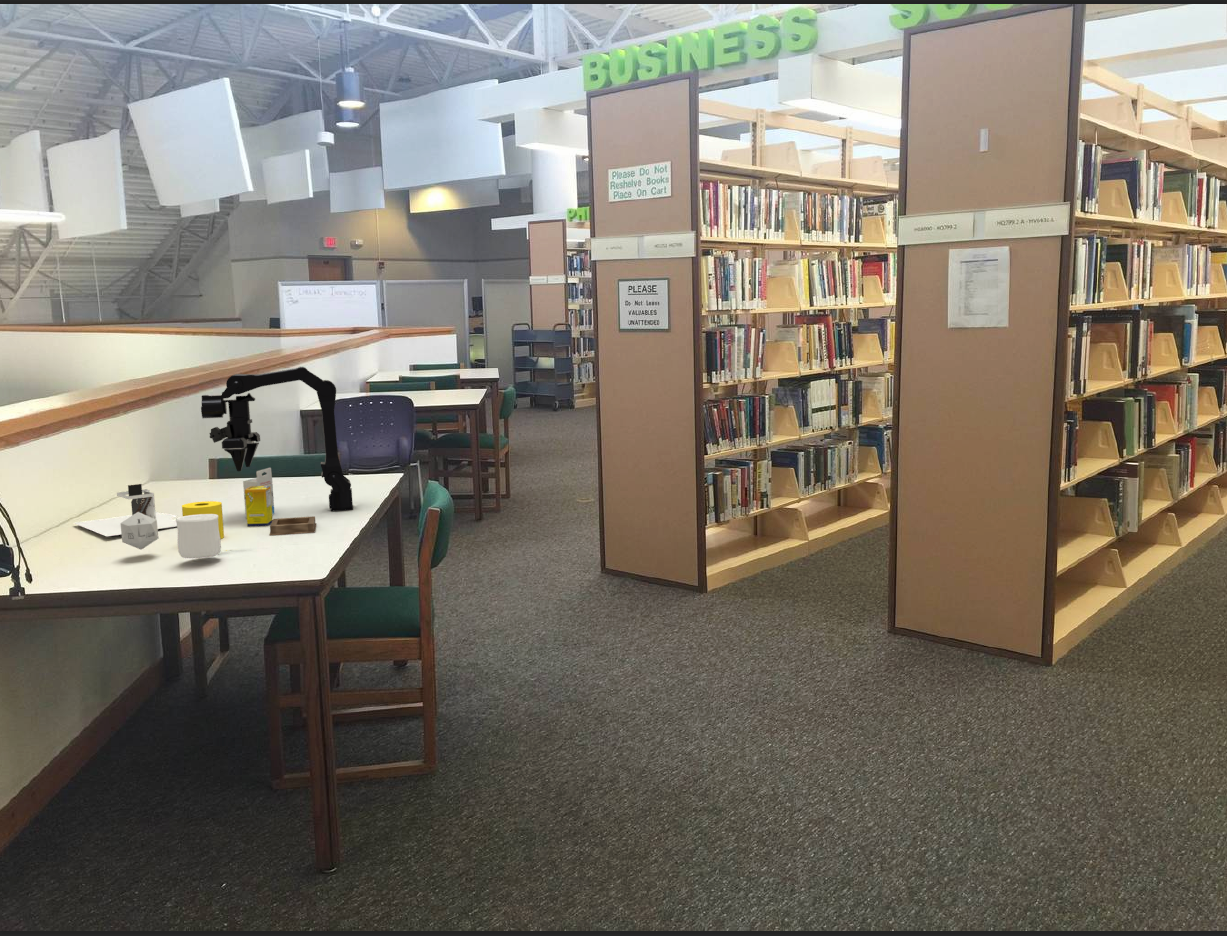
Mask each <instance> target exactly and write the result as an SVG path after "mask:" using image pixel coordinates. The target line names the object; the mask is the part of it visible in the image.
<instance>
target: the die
mask: <svg viewBox="0 0 1227 936" xmlns="http://www.w3.org/2000/svg"><path fill="white" fill-rule="evenodd" d="M131 515H132V514H131ZM120 535H121V542H122V543H124V544H125V545H129V546H130V547H133V548H136V549H138V550H144V548H146V547H148V546H149V545H151V544H152V543H154V542H155V541H157V540H158V539H160V538H159V529H158V528H157V520H156V519H154V518H151V517H149V516H147V515H144V514H142V513H140V512H137V513H136V514H134V515H132V516H131V517H129V518H128V519H126V520H125V521H123V522H122V523H121V534H120Z"/></svg>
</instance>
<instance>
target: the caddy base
mask: <svg viewBox="0 0 1227 936" xmlns="http://www.w3.org/2000/svg"><path fill="white" fill-rule="evenodd" d="M317 525H318V524H317V523H316V516H297V517H284V518H283V517H281V518H273V521H272V523H271V524H269V534H268V535H269V536H280V535H281V536H282V535H297V534H313V533H316V530H317V529H316V528H317Z"/></svg>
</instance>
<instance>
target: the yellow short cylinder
mask: <svg viewBox="0 0 1227 936" xmlns="http://www.w3.org/2000/svg"><path fill="white" fill-rule="evenodd" d="M181 510H182V511H181V512H182V516H188V515H199V514H216V515H218V527H219V534H220V540H221V539H224V538H225V531H224V518H223V504H222V502H221V501H217V500H215V501H213V500H210V501H208V500H205V501H195V502H194V501H193V502H189V503H188V502H187V503H185V504H182V505H181Z"/></svg>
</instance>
